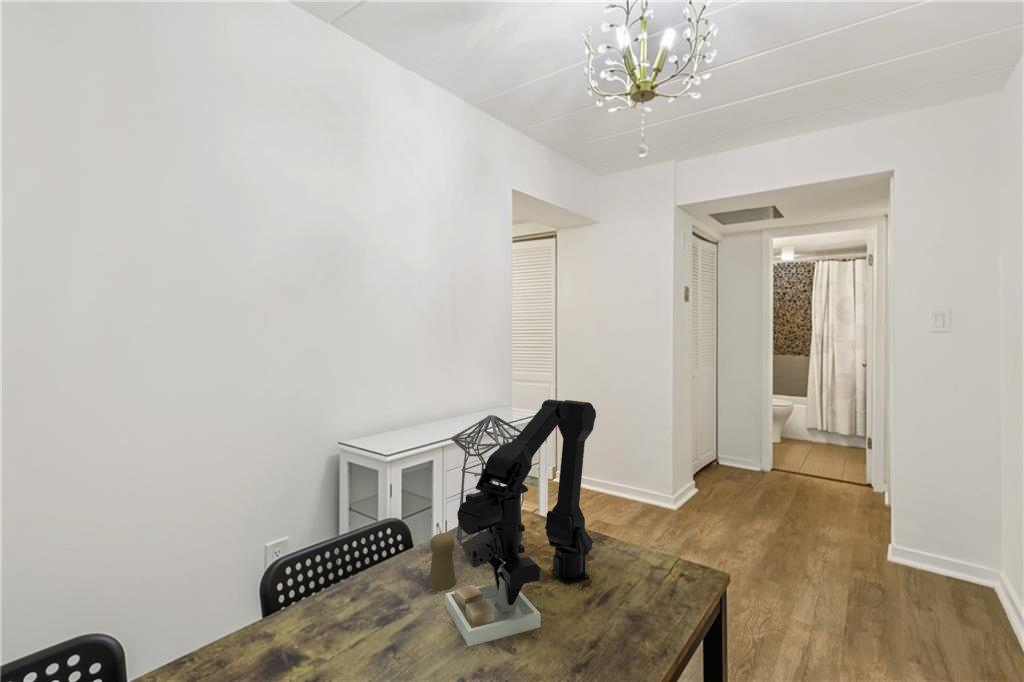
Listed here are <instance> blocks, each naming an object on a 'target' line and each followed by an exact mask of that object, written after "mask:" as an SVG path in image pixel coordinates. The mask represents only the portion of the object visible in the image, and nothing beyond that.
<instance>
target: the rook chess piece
mask: <svg viewBox="0 0 1024 682" xmlns="http://www.w3.org/2000/svg"><path fill="white" fill-rule="evenodd" d="M503 566H504V564H501V565H500V566H499V569H498V571H497V572H503ZM516 601H517V599H516V600H515V602H514V604H513V605H508V602H507V596H506V588H505V581H504V580H503V579H502V578H501V577H499V591H498V593H497V596H496V597H495V604H494V606H495V608H496V609H497V610H498V611H500V612H505V613H507V612H511V611H513V610H514V609H515V608H516V607H517V603H516Z"/></svg>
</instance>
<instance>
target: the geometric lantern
mask: <svg viewBox="0 0 1024 682" xmlns="http://www.w3.org/2000/svg"><path fill="white" fill-rule="evenodd" d="M490 423H491V428H492V431H488V429H489V426H490ZM504 425H505V426H507V427H508V428H510V429H511V430H514V431H516V432H517V433H518V434H512V433H510V432H509V430H507V429H506V427H505V426H504ZM473 428H474V429H473ZM470 430H471V431H470ZM468 431H470V432H469V433H468V434H467V435H466V436H462V435H464V434H465V433H467V432H468ZM497 431H498V432H499V433H498V432H497ZM521 431H522V430H520V429H519V428H517V427H515V426H514V425H513V424H510V423H509V422H508V421H505V420H504V419H503V418H500V417H499V416H497V415H495V414H494V415H493V414H491V415H490V414H488V415H487V416H486V417H484V418H482V419H481V420H479V421H478V422H475V423H474V424H472V425H471V426H469V427H467V428H465V429H464V430H462V431H460V432H458V433H457V434H454V435H452V437H451V438H450V440H451V441H452V442H454V443H455V444H456V445H457V446H458V447H459V448H460V449H461V450H462V451H463V452H464V459H463V467H462V469H461V473H462V475H461V489H460V497H459V499H460V501H459V506H460V505H461V504H462V503H464V489H465V478H466V477H465V476H466V474H471V475H475V476H476V475H477V476H481V474H482V472H483V470H484V468H485V466H486V464H487V461H485V459H484V457H483V455H484V454H486V453H488V452H490V451H491V450H492V449H494V448H497V447H498V448H497V449H499V448H500V447H501V446H503V445H505V444H508V443H510V442H512V441H513V440H514V439H515V438H516V437H517V436H518V435H519V434H520V433H521ZM505 433H506V434H507V435H508V436H506V434H505ZM484 434H486V435H487V436H489V437H490V439H492V440H493V441H495V443H481V441H482V438H483V436H484ZM499 437H501V438H502V443H501V442H500V441H499ZM468 439H470V440H468ZM510 440H511V441H510ZM477 441H478V442H477ZM463 443H464V444H463ZM470 445H471V446H470ZM475 446H476V449H475ZM479 447H488V448H487V449H485V450H483V451H482V452H480V449H479ZM470 449H472V450H473V451H474V453H471V450H470ZM476 450H477V451H476ZM469 457H477V459H479V461H480V462H481V463H478V464H474V465H472V466H469V467H466V466H467V462H468V460H469ZM478 466H481V473H480V472H475V471H474V472H473V471H467V470H469V469H473V468H475V467H478ZM490 483H493V484H494V481H492V480H491V481H490ZM497 483H498V482H497ZM497 485H500V486H502V484H501V483H498V484H497ZM521 523H522V524H523V522H522V520H521ZM484 531H486V529H485V530H484ZM456 533H457V534H456V542H457V544H458V545H460V546H461V547H462V544H463V543H464V542H462V540H464V539H465V538H467V537H469V536H470V535H469V534H467V533H466V534H464V535H463V530H462V528H461V527H460V524H459V522H458V521H457V532H456ZM523 537H524V536H523V532H521V542H522V541H523V539H524V538H523Z"/></svg>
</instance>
